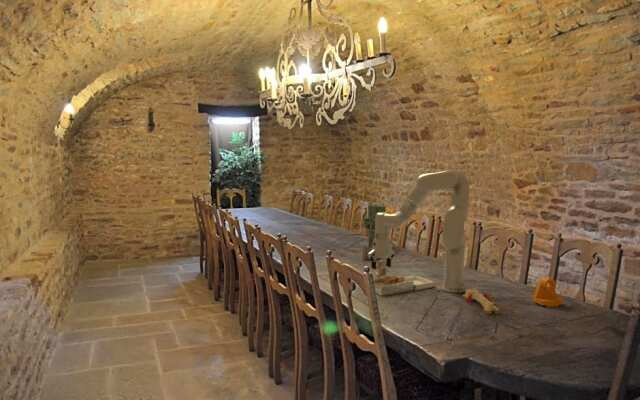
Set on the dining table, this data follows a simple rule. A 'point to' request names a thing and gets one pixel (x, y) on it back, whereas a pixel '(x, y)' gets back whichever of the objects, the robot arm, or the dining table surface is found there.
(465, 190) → the robot arm
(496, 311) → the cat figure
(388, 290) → the channel
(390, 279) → the chip
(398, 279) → the chip
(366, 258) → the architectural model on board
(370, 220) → the religious sculpture
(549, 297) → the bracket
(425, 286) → the tray
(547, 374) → the dining table surface
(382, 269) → the scraper
